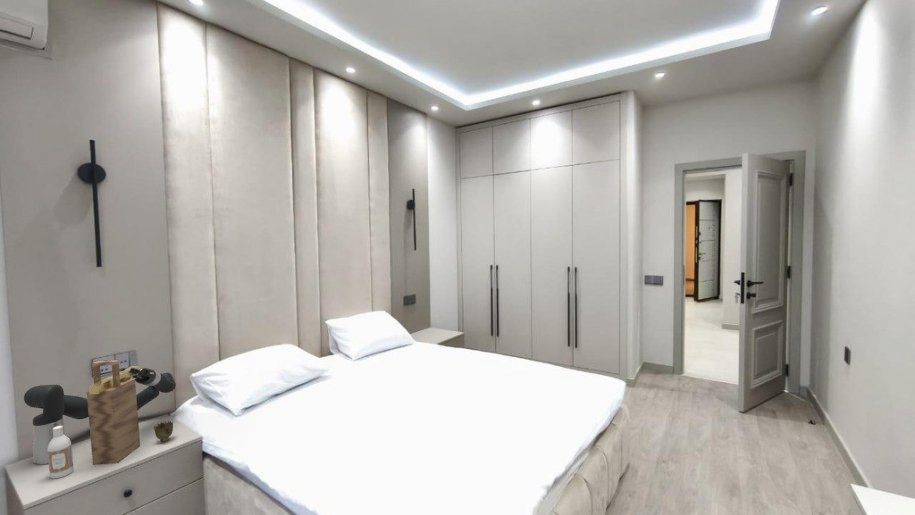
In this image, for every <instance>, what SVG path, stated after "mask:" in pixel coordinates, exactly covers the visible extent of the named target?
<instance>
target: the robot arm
mask: <svg viewBox="0 0 915 515" xmlns="http://www.w3.org/2000/svg"><path fill="white" fill-rule="evenodd" d="M125 369H126V368H121V369H120V371H123V370H125ZM130 373H133V374H136V375H135V376H133V377H131V378H130V379H135V383H137V384H140V385H144V386H146V388H144V389H142V391H140V392H138V393H136V399H137V412H138V411H140V409H141V408H142V407H144V406H145V405H147V404H148V403H150V402H152V401H153V400H154V399H156V398H157V397H159V395H160V393H161V394H162V393H163V394H168V393H171V392H173V391H174V390H175V389H176V388H177V384H176V381H175V379H174V377H173V375H172V373H171V372H164V373H160V372H158V371H156V370H154V369H151V368H148V367H143V368H140V369H135V368H131V369H130ZM23 401H24V403H25V405H27V406H28V407H30V408H35V409H41V410H42V413H39V414H38V415H36V416H35V417H33V419H32V430H33V438H34V439H33V441H32V442H31V447H32V456H33V457H32V458H33V459H32V460H33V464H37V465H46V464H49V461H48V445H49V443H50V442H51V440H52V439H53V437H54V436H53V428H54V427H57V426H63V434H64V435H65V425H64V416H65V417H67V418H71V419H75V420H84V419H85V420H86V419H87V418H88V419H89V413H88V402H87V397H83V396H79V395H78V396H77V395H69V394H65V391H64V388H63V387H62V386H61V385H60V384H40V385H37V386H33V387H31V388H29V389H28V390H26V392H25V393H24V395H23Z"/></svg>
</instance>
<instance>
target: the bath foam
mask: <svg viewBox="0 0 915 515" xmlns="http://www.w3.org/2000/svg"><path fill="white" fill-rule="evenodd" d="M53 436H54V437H53V439H52V440H51V442H50V443H49V445H48V461H49V463H48V469H49V472H48V473H49V477H50V479H54V480H55V479H60V478H64V477H66V476H68V475H70V474H72V473H73V472H74V459H73V447H72V446H73V445H72V441H71V439H70V438H69V437H68V436H67V435H65V433H64V434H63V426H57V427H54V428H53Z"/></svg>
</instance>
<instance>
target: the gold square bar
mask: <svg viewBox="0 0 915 515" xmlns="http://www.w3.org/2000/svg"><path fill="white" fill-rule="evenodd" d="M131 368H135V369H141V366H140V365H131V366H129V367H127V368H124V369H125V370H123V371H121V370H119V373H120V383H121V382H122V380H123V379H125V378H127V377H130V379H132V378H131V377H133V376H135V375H136V374H133V373H130V369H131ZM111 387H113V376H112V375H110V376H107V377H106V378H104V379H101V381H99V382H97V383H95V384H94V383H93V384H91V385H89V386H88V390H89V394H100V393H101V392H103V391H105V390H107V389H109V388H111Z"/></svg>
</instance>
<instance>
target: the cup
mask: <svg viewBox="0 0 915 515" xmlns="http://www.w3.org/2000/svg"><path fill="white" fill-rule="evenodd" d="M153 429H154V433H155V434H154V435H155V437H156V439H158V440H159V441H160V443H165V442H168V441H169V440H170V437H171V436H172V434H173V431H174V422H173V421H171V420H168V421H165V422H163V421H161V422H160V423H157V424H156V426H155V425H154V426H153Z"/></svg>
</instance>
